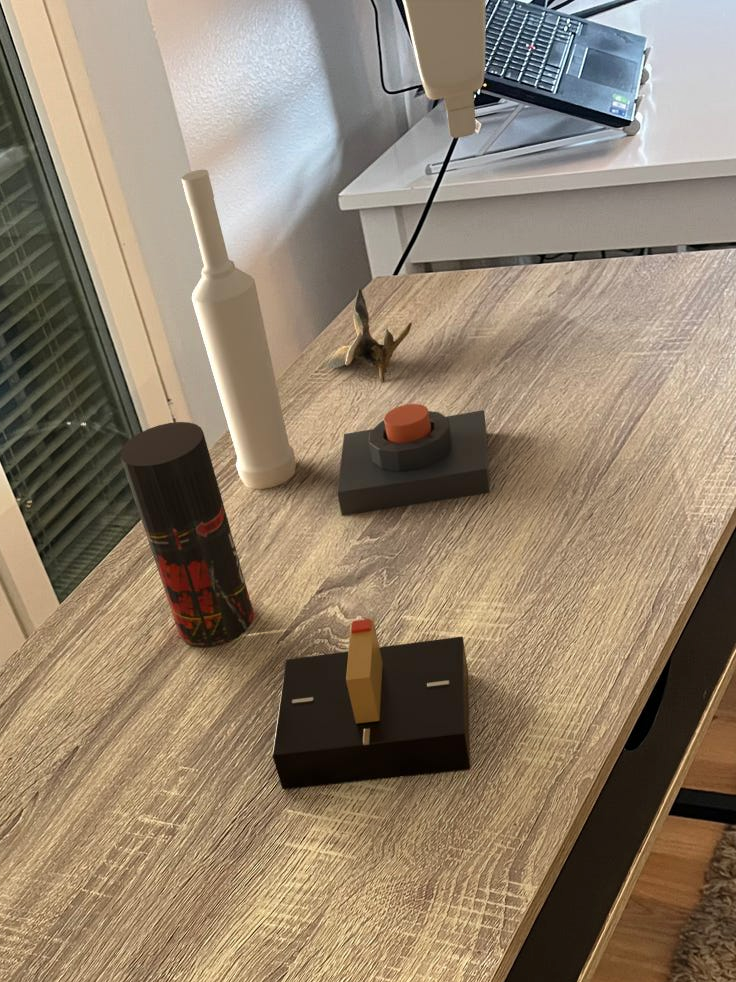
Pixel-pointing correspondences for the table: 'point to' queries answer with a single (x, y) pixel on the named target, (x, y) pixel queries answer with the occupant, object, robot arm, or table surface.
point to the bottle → (238, 349)
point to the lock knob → (364, 671)
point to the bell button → (407, 423)
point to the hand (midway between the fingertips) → (463, 130)
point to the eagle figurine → (367, 342)
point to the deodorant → (188, 532)
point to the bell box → (414, 465)
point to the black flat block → (381, 744)
